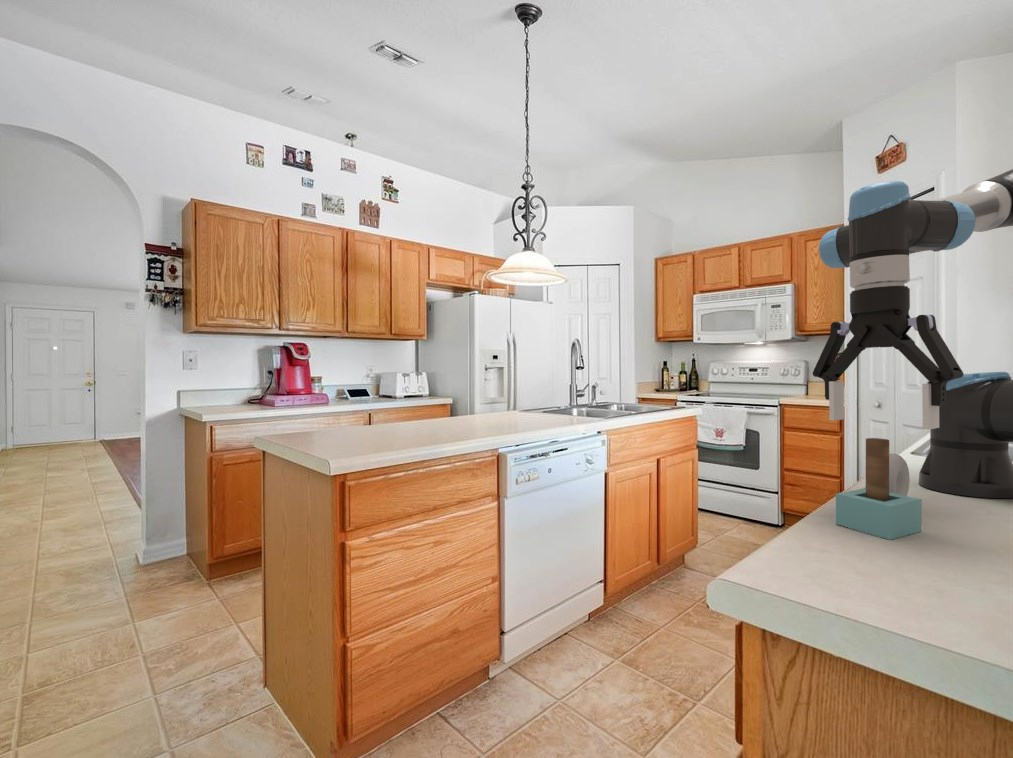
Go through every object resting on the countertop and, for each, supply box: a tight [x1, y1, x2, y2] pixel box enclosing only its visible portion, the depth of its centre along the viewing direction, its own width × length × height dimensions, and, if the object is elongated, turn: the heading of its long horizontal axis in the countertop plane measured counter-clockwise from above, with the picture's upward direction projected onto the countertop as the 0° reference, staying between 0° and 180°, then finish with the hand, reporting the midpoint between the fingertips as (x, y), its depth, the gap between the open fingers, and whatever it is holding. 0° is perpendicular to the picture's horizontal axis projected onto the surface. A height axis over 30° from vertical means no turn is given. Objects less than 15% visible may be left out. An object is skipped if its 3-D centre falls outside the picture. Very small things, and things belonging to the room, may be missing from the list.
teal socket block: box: [835, 487, 923, 541], centre depth 81 cm, size 8×8×5 cm
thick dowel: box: [865, 437, 890, 502], centre depth 80 cm, size 3×3×14 cm
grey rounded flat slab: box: [889, 453, 910, 496], centre depth 90 cm, size 10×3×10 cm, turn 126°
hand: (880, 423), depth 80 cm, fingers open, 13 cm apart
